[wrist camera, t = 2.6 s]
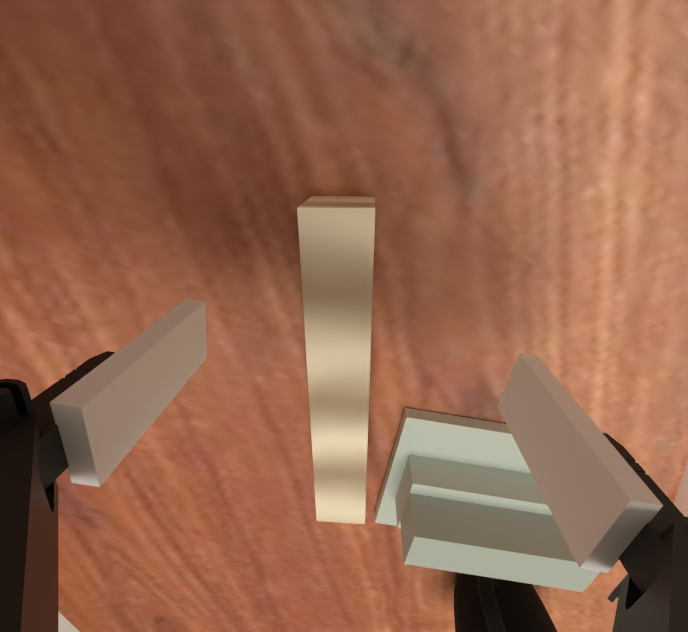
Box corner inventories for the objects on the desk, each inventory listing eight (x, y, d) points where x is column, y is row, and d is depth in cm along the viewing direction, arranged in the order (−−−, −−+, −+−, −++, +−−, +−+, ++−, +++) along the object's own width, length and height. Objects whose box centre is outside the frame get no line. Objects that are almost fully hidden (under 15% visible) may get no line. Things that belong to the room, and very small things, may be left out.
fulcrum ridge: (405, 407, 25) (416, 485, 19) (592, 437, 25) (660, 524, 19) (374, 511, 30) (376, 597, 25) (529, 536, 30) (568, 627, 25)
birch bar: (312, 195, 19) (297, 207, 15) (374, 195, 19) (375, 207, 15) (324, 469, 29) (316, 520, 25) (365, 471, 29) (364, 523, 25)
